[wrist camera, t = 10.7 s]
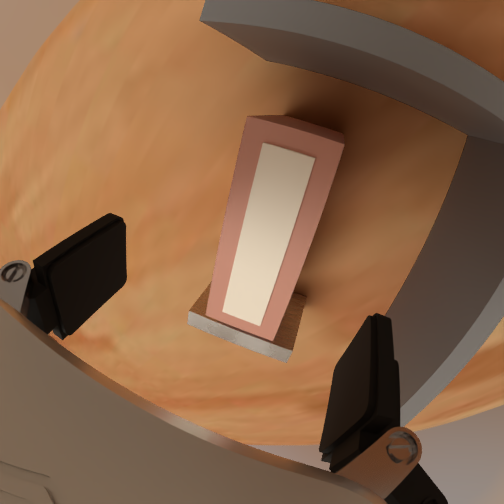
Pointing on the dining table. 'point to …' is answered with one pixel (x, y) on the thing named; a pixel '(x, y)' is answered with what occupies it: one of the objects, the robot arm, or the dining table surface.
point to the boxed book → (271, 219)
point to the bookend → (273, 349)
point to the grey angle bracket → (461, 189)
